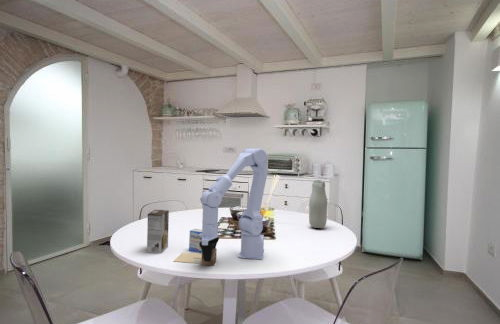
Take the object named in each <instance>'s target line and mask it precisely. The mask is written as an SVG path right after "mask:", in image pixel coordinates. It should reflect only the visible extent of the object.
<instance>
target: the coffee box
mask: <svg viewBox="0 0 500 324" xmlns="http://www.w3.org/2000/svg"><path fill="white" fill-rule="evenodd" d="M169 212H170V211H169V210H166V209H165V210H164V209H154V210H152V211H150V212H149V213H147V231H146V233H147V235H146V236H147V237H146V238H147V239H146V253H149V254H163V252H164V251H165V250H166V249H167V248H169V214H170V213H169Z"/></svg>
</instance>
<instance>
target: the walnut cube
mask: <svg viewBox="0 0 500 324" xmlns="http://www.w3.org/2000/svg"><path fill="white" fill-rule="evenodd" d="M217 251H218V250H217V248H213V250H212V256H211V260H210V262H208V261H204V257H203V252H202V253H201V254H202V261H201V265H202V266H211V267H213V266H215V264H216V262H217Z"/></svg>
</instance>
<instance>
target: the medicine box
mask: <svg viewBox="0 0 500 324" xmlns="http://www.w3.org/2000/svg"><path fill="white" fill-rule="evenodd" d="M200 233H202V229H201V228H199V229H198V228H193V229H191V230H189V240H188V241H189V242H188V243H189V244H188V251H189V252H194V253H200V254H202V249H201V247H200V245H199V243H200V242H201V241H202V237H201V236H199V234H200Z"/></svg>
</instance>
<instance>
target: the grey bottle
mask: <svg viewBox="0 0 500 324" xmlns="http://www.w3.org/2000/svg"><path fill="white" fill-rule="evenodd" d="M311 187H312V188H311V194H310V197H309V202H308V207H309V208H308V211H309V213H308V222H309V226H311V228H313V227H314V228H313V229H315V228H322V229H324V228H325V227H326V226H327V221H328V197H327V193H326V182H325V181H324V180H321V179H316V180H314V181H312V185H311Z"/></svg>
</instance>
